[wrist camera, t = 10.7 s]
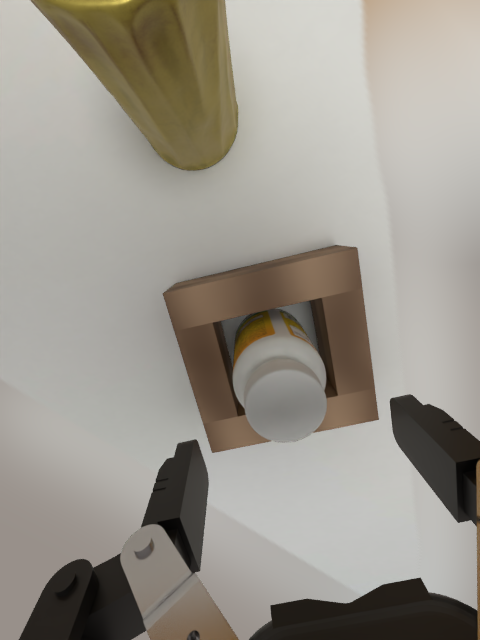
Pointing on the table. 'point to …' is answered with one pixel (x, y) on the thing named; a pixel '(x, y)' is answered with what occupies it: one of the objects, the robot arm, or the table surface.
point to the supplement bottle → (278, 377)
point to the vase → (160, 69)
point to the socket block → (264, 294)
